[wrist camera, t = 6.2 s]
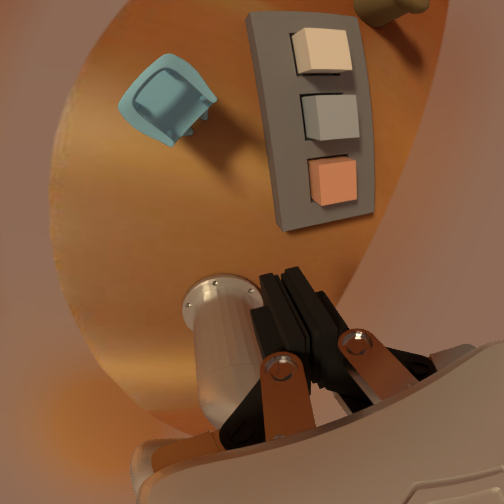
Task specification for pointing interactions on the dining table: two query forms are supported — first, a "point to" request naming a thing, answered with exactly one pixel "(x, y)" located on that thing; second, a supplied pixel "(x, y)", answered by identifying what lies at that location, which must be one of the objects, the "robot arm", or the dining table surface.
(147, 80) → the chair
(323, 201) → the terracotta button
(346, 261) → the dining table surface
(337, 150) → the button panel
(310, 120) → the slate button
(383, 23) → the cork
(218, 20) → the dining table surface
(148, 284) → the dining table surface
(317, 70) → the cream button
